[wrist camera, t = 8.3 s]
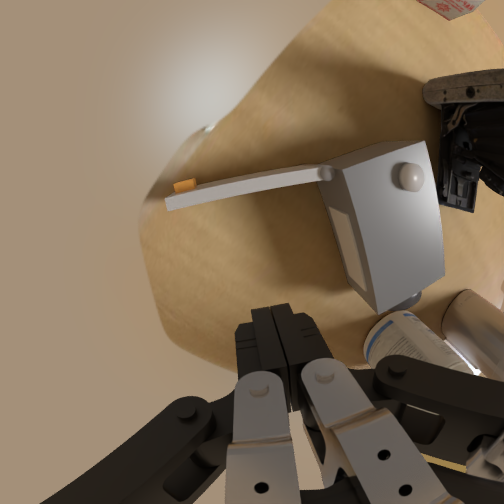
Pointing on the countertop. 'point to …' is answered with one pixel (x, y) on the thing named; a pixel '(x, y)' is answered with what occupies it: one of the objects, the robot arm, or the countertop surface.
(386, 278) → the camera housing
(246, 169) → the countertop surface
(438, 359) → the supplement tub
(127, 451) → the robot arm
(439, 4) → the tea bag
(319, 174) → the side door
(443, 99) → the vintage camera
